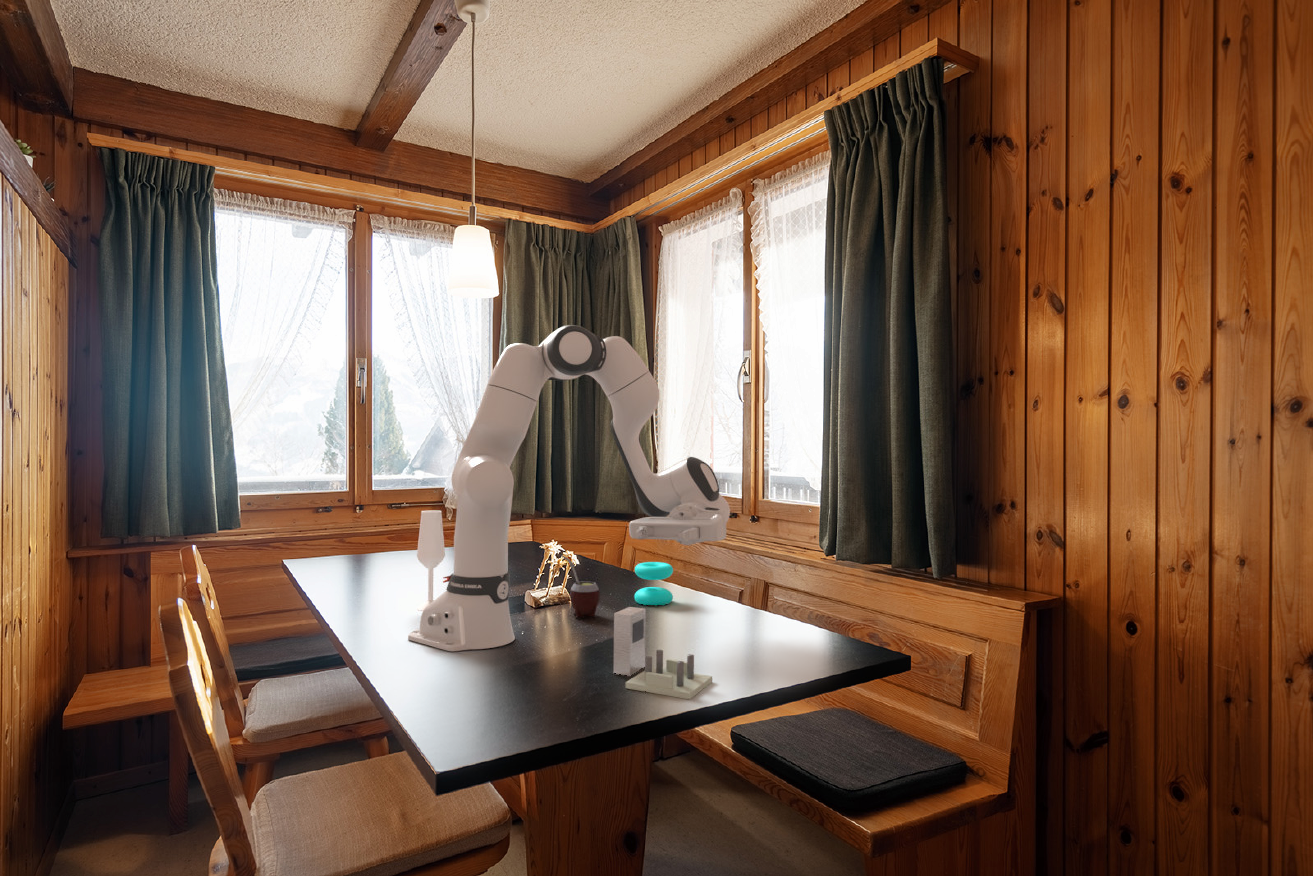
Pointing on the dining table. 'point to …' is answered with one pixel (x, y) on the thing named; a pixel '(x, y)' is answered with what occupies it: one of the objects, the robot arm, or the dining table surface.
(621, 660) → the block
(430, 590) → the champagne flute
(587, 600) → the mate gourd
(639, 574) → the donuts
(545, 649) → the dining table surface
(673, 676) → the peg board
